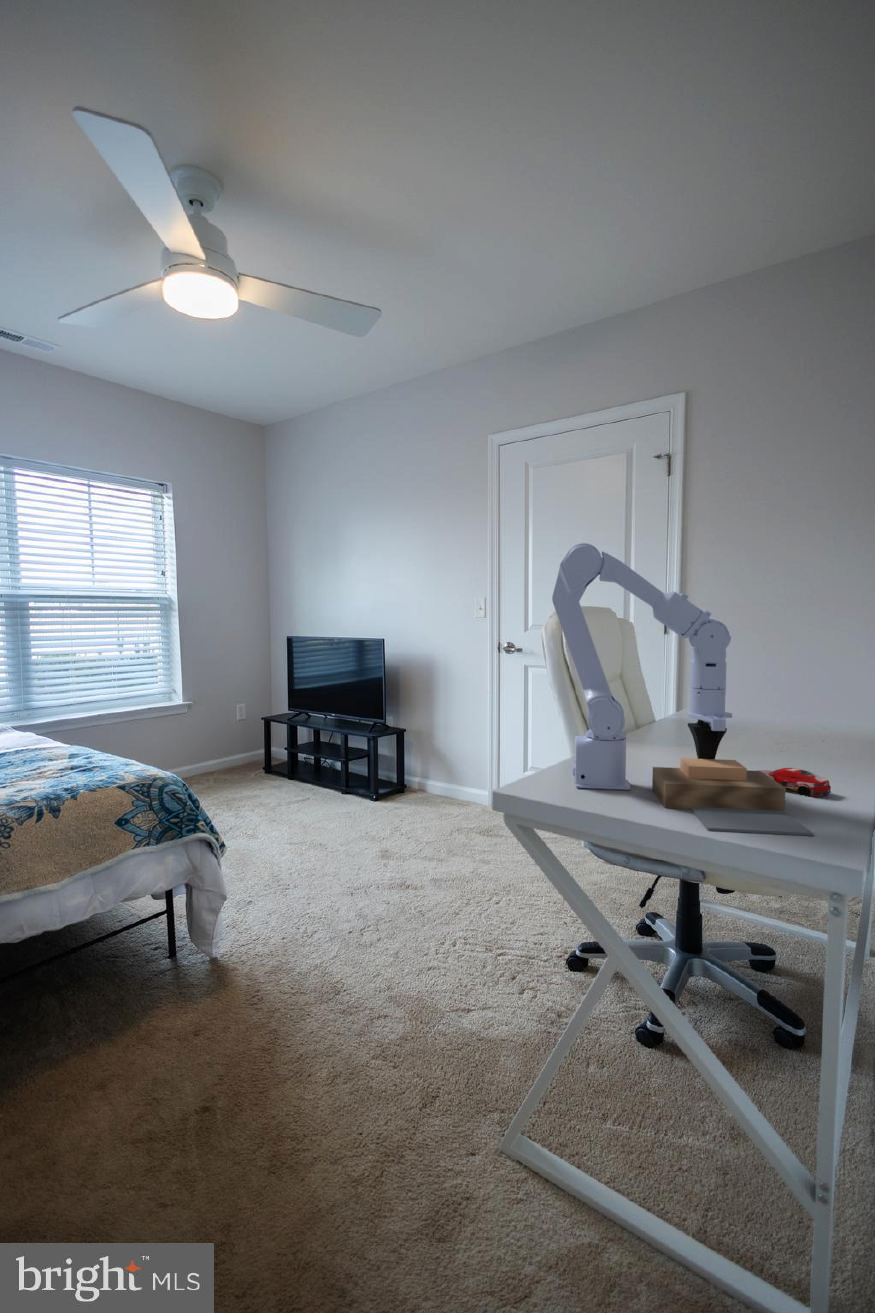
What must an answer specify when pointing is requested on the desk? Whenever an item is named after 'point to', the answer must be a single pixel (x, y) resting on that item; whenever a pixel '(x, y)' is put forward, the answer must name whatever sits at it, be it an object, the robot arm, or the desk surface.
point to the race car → (800, 781)
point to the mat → (750, 821)
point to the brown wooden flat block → (717, 791)
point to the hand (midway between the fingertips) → (705, 764)
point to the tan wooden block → (713, 769)
